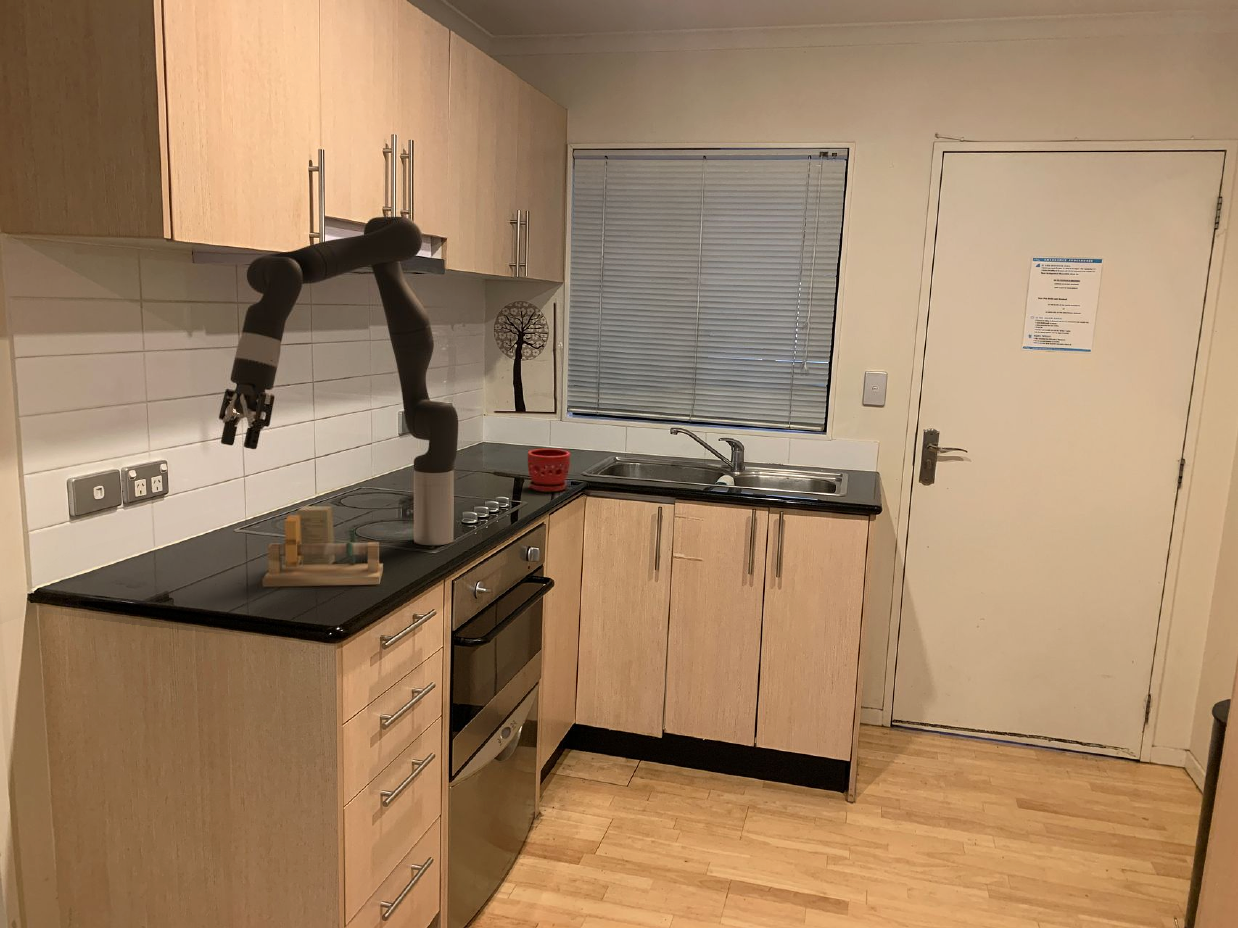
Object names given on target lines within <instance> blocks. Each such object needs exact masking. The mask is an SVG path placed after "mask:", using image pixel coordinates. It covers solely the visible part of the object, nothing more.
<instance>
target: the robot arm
mask: <svg viewBox="0 0 1238 928" xmlns="http://www.w3.org/2000/svg"><path fill="white" fill-rule="evenodd" d="M422 245H423V235H422V231H421V229H420V227H419V225H418V224H417V223H416V222H415V221H414V220H413V219H410V218H408V217H407V216H406V217H404V216H377V217H372V218H371V219H369V220H368V221H367V222H366V223H365V227H364V230H363V234H360V235H357V236H356V235H355V236H350V237H349V236H348V237H343V238H336V239H330V240H324V241H321V242H318V243H313V244H310V245H308V246H303V247H300V248H298V249H295V250H290V251H285V252H278V253H272V254H267V255H264V256H261V257H260V256H259V257H258V258H256V259H254V260H253V261H252V262H251V263H250V264H249V266H248V268H247V270H246V271H247V272H246V281H247V282H248V284H249V286H250V288H252V290H254V291H255V292H257V293H259V294H262V297H261V298H260V300H259V301H258V302H256V303H253V304H251V305H250V306H248V308H247V310H246V312H245V317H244V322H243V326H242V330H241V335H240V338H239V340H238V343H237V346H236V350H235V355H234V360H233V364H232V365H233V366H232V368H231V369H232V370H231V374H230V381H231V382H232V383H233V384H236V387H235V389H229V388H226V389H225V391H224V394H223V398H222V403H221V407H220V410H219V415H218V419H219V420H222V423H223V424H224V426H223V429H222V434H221V438H220V444H222V445H227V446H233V445H234V443H235V439H236V435H237V432H238V431H237V430H238V424H239V423H240V421H241V420H242V419H244V418H246V419H247V420H246V421H247V425H248V426H247V429H246V433H245V437H244V442H243V447H244V448H245V449H251V450H256V449H257V448H258V443H259V439H260V435H261V431H262V430H263V429H264V428H265V427H266V428H268V427H269V426H270V424H271V420H272V419H271V418H272V414H273V408H274V404H275V394H272V393H267V392H266V391H271V390H273V389H274V386H275V385H274V384H275V381H276V375H277V372H278V371H277V370H278V366H279V362H280V357H281V347H282V341H283V336H284V332H285V326H286V322H287V320H288V318H289V315H290V314H291V312H292V310H293V308H294V306H295V304H296V302H297V300H298V298H299V296H300V293H301V290H302V287H303V285H305V284H306V285H308V284H309V285H310V284H311V285H312V284H316V283H320V282H323V281H326V280H328V279H331V278H334V277H338V276H341V275H344V274H347V273H350V272H353V271H356V270H358V269H361V268H365V267H368V266H369V267H370V266H371V269H372V273H373V275H374V279H375V281H376V284H377V287H378V291H379V295H380V299H381V303H382V306H383V310H384V311H383V312H384V315H385V318H386V319H385V320H386V324H387V330H388V335H389V338H390V343H391V348H392V351H393V354H394V359H395V363H396V368H397V372H398V377H399V378H398V379H399V383H400V389H401V398H402V405H403V414H404V420H405V424H406V425H405V426H406V428H407V430H408V432H409V434H410V435H411V436H412V437H413V438H415V439H418V440H422V441H428V449H427V451H426V452H425V453H423V454H421V455H417V456H416V457H414V459H413V542H414V543H415V544H417V545H424V546H442V545H449V544H452V543H453V542H454V523H455V521H454V520H455V519H454V514H455V513H454V511H455V510H454V509H455V508H454V507H455V504H454V503H455V500H454V496H455V491H454V489H455V486H454V485H455V479H454V477H455V476H454V475H455V473H454V471H455V470H454V469H455V462H456V461H455V460H456V458H457V456H458V455H457V454H458V443H459V442H458V437H459V418H458V417H459V416H458V412H457V410H456V408H455V407H454V405H453V404H451V403H448V402H443V401H434V400H431V399H430V397H429V393H428V387H427V380H426V379H427V378H426V377H427V372H428V369H429V365H430V362H431V360H432V356H433V353H434V348H435V346H434V345H435V343H434V342H435V341H434V336H433V330H432V327H431V322H430V317H429V316H428V315H429V314H428V313H427V311H426V309H425V308H424V305H422V303H421V302H420V300H419V298H418V297H417V296H416V295H415V293H414V292H413V290H412V289H411V288H410V286H409V285H408V283H407V280H406V278H405V276H404V272H403V270H402V269H403V268H402V266H401V262H405V261H408V260H411V259H413V258H414V257H416V256H417V255H418V254H419V252H420V251H421V249H422Z"/></svg>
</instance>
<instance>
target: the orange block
mask: <svg viewBox="0 0 1238 928" xmlns="http://www.w3.org/2000/svg"><path fill="white" fill-rule="evenodd" d="M284 531H285V539H284V540H285V541H284V542H285V543H284V544H285V552H286V556H285V565H286V567H297V565H300V563H301V556H297V544H301V535H300V515H298V514H293V515H292V514H290V515H289V514H288V516H287V518H286V519H285V520H284Z"/></svg>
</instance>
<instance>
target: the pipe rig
mask: <svg viewBox="0 0 1238 928" xmlns="http://www.w3.org/2000/svg"><path fill="white" fill-rule="evenodd" d="M349 531H350V532H349V534H350V535H349V536H350V537H349V539H350V541H349V542H339V543H338V542H334V543H313V544H297V556H314V555H335V556H347V557H350V563H332V564H310V565H301V564H298V565H297V567H286V564H283V560H282V558H283V557H286V552H285V543H280V542H279V543H278V542H277V543H276V542H275V543H270V544H269V545H268V547H267V555H268V557H267V559H268V571H267V572H266V573H265V575H264V577H263V578H262V587H265V588H267V587H305V586H306V587H308V586H309V587H311V586H315V587H317V586H319V587H320V586H360V585H362V586H363V585H366V586H367V585H380V584H381V579H382V576H383V571H384V563H380V542H379V541H369V542H356V539H355V538H356V531H355V528H350V529H349ZM365 555H367V563H356V556H365Z"/></svg>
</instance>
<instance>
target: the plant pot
mask: <svg viewBox="0 0 1238 928" xmlns="http://www.w3.org/2000/svg"><path fill="white" fill-rule="evenodd" d="M570 458H571V455H570V452H569V451H568V450H563V449H557V448H537V449H532V450H528V452H527V470H528V475H529V477H530V479H531V481H530V482H529V483H528V484H529V486H530V488H531V489H533V490H535V491H538V492H542V493H544V492H546V493H552V492H553V493H554V492H560V491H563V490H564V489H566V487H567V484H568V483H567V482H566V479H567V477H568V474H569V469H570V463H571V462H570V461H571V459H570ZM552 466H553V467H552Z"/></svg>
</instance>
